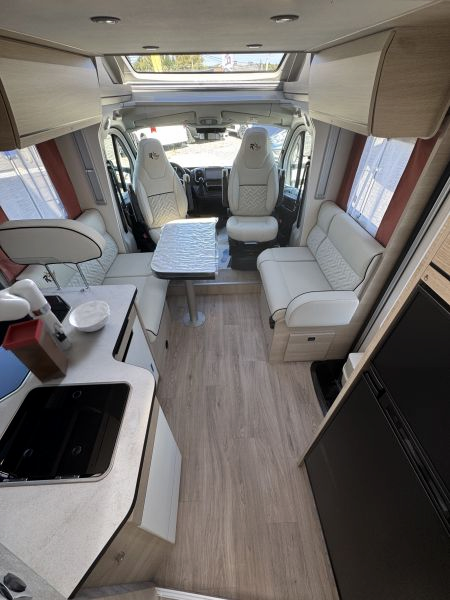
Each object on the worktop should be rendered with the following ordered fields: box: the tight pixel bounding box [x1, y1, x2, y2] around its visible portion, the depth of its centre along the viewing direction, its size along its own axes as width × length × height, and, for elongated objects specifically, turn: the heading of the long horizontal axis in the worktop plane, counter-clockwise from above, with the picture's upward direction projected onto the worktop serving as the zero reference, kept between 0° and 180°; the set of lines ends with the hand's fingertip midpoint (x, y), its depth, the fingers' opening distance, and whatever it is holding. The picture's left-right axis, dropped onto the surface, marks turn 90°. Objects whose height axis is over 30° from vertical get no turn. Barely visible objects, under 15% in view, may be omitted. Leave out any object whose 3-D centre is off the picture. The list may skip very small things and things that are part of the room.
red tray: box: [1, 318, 43, 352], centre depth 91 cm, size 10×10×2 cm
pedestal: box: [9, 327, 69, 384], centre depth 100 cm, size 9×9×23 cm
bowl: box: [68, 300, 111, 333], centre depth 125 cm, size 18×18×7 cm
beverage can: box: [49, 331, 72, 351], centre depth 113 cm, size 5×5×12 cm
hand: (59, 337), depth 112 cm, fingers closed on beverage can, 4 cm apart
